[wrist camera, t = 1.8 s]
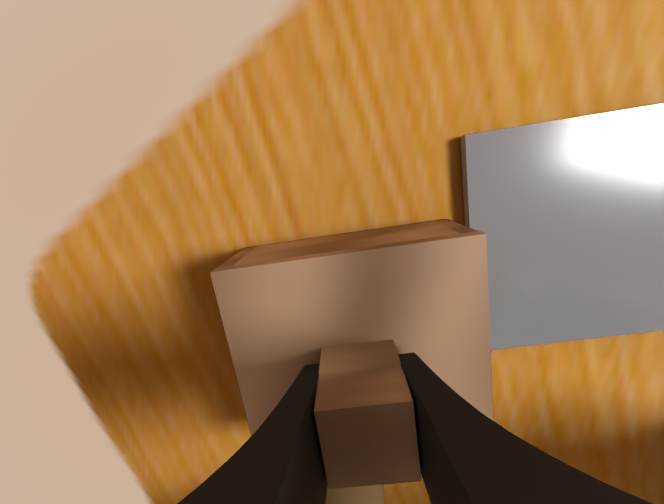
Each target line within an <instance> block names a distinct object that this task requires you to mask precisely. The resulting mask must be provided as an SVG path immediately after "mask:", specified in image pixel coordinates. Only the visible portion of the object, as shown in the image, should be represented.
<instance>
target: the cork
mask: <svg viewBox="0 0 664 504" xmlns="http://www.w3.org/2000/svg"><path fill="white" fill-rule="evenodd" d="M326 504H384V489H383V486H382V484H381V485H370V486H359V487H348V488H336V489H329V487H328V486H327V496H326Z"/></svg>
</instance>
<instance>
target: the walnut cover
mask: <svg viewBox="0 0 664 504" xmlns="http://www.w3.org/2000/svg"><path fill="white" fill-rule="evenodd" d="M210 275H211V279H212V283H213V287H214V291H215V295H216V299H217V303H218V306H219V310H220V314H221V318H222V322H223V326H224V330H225V334H226V338H227V342H228V346H229V350H230V354H231V358H232V362H233V366H234V370H235V374H236V377H237V381H238V385H239V389H240V393H241V397H242V401H243V405H244V409H245V413H246V417H247V421H248V425H249V429H250V433H251V436H252V435H253V434H254V433H255V432H256V431H257V429H258V428H259V427H260V426H261V424H262V423H263V422H264V421H265V420H266V418H267V417H268V416H269V415H270V413H271V412H272V411H273V410H274V408H275V407H276V406H277V404H278V403H279V401H280V400H281V399H282V397H283V396H284V395H285V393H286V392H287V390H288V389H289V388H290V386H291V385H292V383H293V382H294V380H295V379H296V377H297V376H298V374H299V373H300V371H301V370H302V368H303V367H304V366H305V365H310V364H318V363H320V365H319V377H318V382H317V390H316V399H315V407H314V415H315V420H316V425H317V430H318V435H319V440H320V446H321V451H322V456H323V461H324V466H325V471H326V477H327V482H328V487H329V489H336V488H348V487H359V486H370V485H381V484H393V483H404V482H415V481H421V472H420V463H419V453H418V444H417V434H416V425H415V415H414V406H413V400H412V396H411V393H410V390H409V387H408V384H407V381H406V378H405V375H404V372H403V370H402V367H401V365H400V364H401V362H400V359H399V356H398V354H404V353H413V352H414V353H415V354H417V355H418V356H419V357H420V358H421V359H422V360H423V362H424V363H425V364H426V365H427V366H428V367H429V368H430V369H431V370H432V371H433V372H434V373H435V374H436V375H437V376H439V377H440V378H441V379H442V380H443V381H444V382H445V383H446V384H447V385H448V386H450V387H451V388H452V389H453V390H454V391H455V392H456V393H458V394H459V395H460V396H461V397H462V398H463V399H465V400H466V401H467V402H468V403H470V404H471V405H472V406H473V407H475V408H476V409H477V410H479V411H480V412H481V413H483V414H484V415H485V416H487V417H488V418H490V419H491V420H493V401H492V374H491V347H490V320H489V293H488V265H487V238H486V233H483V232H481V231H478V230H475V229H473V228H470V227H467V226H465V225H462V224H459V223H457V222H454V221H451V220H449V219H442V220H435V221H428V222H421V223H414V224H407V225H400V226H393V227H386V228H379V229H372V230H365V231H358V232H351V233H344V234H337V235H330V236H323V237H317V238H310V239H303V240H296V241H289V242H282V243H275V244H268V245H261V246H254V247H247V248H244V249H242V250H241V251H239V252H238V253H236V254H235V255H234V256H232V257H231V258H229V259H228V260H227V261H225V262H224V263H222V264H221V265H219V266H218V267H217V268H215V269H214V270H212V271H211V272H210Z"/></svg>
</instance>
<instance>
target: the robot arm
mask: <svg viewBox="0 0 664 504" xmlns="http://www.w3.org/2000/svg"><path fill="white" fill-rule="evenodd" d="M398 356H399V359H400V362H401V364H400V365H401V367H402V370H403V372H404V375H405V378H406V381H407V384H408V387H409V390H410V393H411V396H412V400H413V406H414V415H415V425H416V434H417V444H418V453H419V463H420V472H421V475H422V477H423V480H424V483H425V486H426V489H427V492H428V495H429V498H430V501H431V504H652V503H649V502H647V501H645V500H642V499H640V498H638V497H635V496H633V495H631V494H628V493H626V492H624V491H621V490H619V489H617V488H614V487H612V486H610V485H608V484H606V483H603V482H601V481H599V480H597V479H595V478H593V477H591V476H589V475H587V474H585V473H583V472H581V471H579V470H577V469H575V468H573V467H571V466H569V465H567V464H565V463H563V462H561V461H559V460H557V459H556V458H554V457H552V456H550V455H548V454H546V453H545V452H543V451H541V450H539V449H538V448H536V447H534V446H532V445H531V444H529V443H527V442H525V441H524V440H522V439H520V438H519V437H517V436H515V435H514V434H512V433H511V432H509V431H507V430H506V429H504V428H503V427H502V426H500V425H499V424H497V423H496V422H494V421H493V420H491V419H490V418H488V417H487V416H485V415H484V414H483V413H481V412H480V411H479V410H477V409H476V408H475V407H473V406H472V405H471V404H470V403H468V402H467V401H466V400H465V399H463V398H462V397H461V396H460V395H459V394H458V393H456V392H455V391H454V390H453V389H452V388H451V387H450V386H448V385H447V384H446V383H445V382H444V381H443V380H442V379H441V378H440V377H439V376H437V375H436V374H435V373H434V372H433V371H432V370H431V369H430V368H429V367H428V366H427V365H426V364H425V363H424V362H423V360H422V359H421V358H420V357H419V356H418V355H417V354H415V353H414V352H413V353H404V354H398ZM319 365H320V363H318V364H310V365H305V366H304V367H303V368H302V370H301V371H300V373H299V374H298V376H297V377H296V379H295V380H294V382H293V383H292V385H291V386H290V388H289V389H288V390H287V392H286V393H285V395H284V396H283V397H282V399H281V400H280V401H279V403H278V404H277V406H276V407H275V408H274V410H273V411H272V412H271V413H270V415H269V416H268V417H267V418H266V420H265V421H264V422H263V423H262V424H261V426H260V427H259V428H258V429H257V431H256V432H255V433H254V434H253V435H252V436H251V437H250V438H249V440H248V441H247V442H246V443H245V444H244V445H243V446H242V447H241V448H240V449H239V450H238V451H237V452H236V453H235V454H234V455H233V456H232V457H231V458H230V459H229V460H228V461H227V462H225V463H224V464H223V465H222V466H221V467H220V468H219V469H218V470H217V471H215V472H214V473H213V474H212V475H211V476H210V477H209V478H208V479H207V480H206V481H204V482H203V483H202V484H201V485H200V486H199V487H197V488H196V489H195V490H194V491H193V492H191V493H190V494H189V495H188V496H186V497H185V498H184V499H183V500H182V501H180V502H179V503H178V504H326V496H327V486H328V482H327V477H326V471H325V466H324V461H323V456H322V451H321V446H320V440H319V435H318V430H317V425H316V420H315V415H314V407H315V399H316V390H317V382H318V377H319Z"/></svg>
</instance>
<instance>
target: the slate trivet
mask: <svg viewBox="0 0 664 504" xmlns="http://www.w3.org/2000/svg"><path fill="white" fill-rule="evenodd" d="M460 140H461V159H462V178H463V197H464V216H465V226H467V227H470V228H473V229H475V230H478V231H481V232H483V233H486V238H487V265H488V293H489V320H490V347H491V350H497V349H506V348H515V347H523V346H532V345H541V344H549V343H558V342H567V341H576V340H584V339H593V338H602V337H610V336H619V335H628V334H636V333H645V332H654V331H662V330H664V103H661V104H655V105H649V106H643V107H636V108H630V109H624V110H618V111H612V112H605V113H599V114H593V115H587V116H581V117H574V118H568V119H562V120H556V121H550V122H543V123H537V124H531V125H525V126H519V127H512V128H506V129H500V130H494V131H488V132H481V133H475V134H469V135H464V136H461V137H460Z"/></svg>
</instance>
